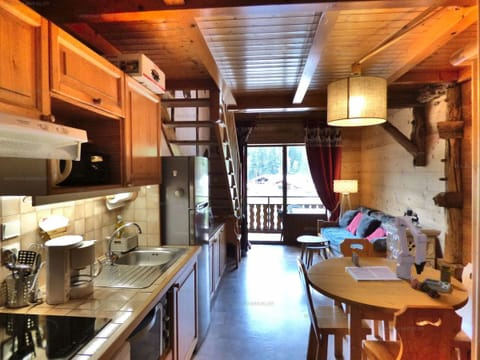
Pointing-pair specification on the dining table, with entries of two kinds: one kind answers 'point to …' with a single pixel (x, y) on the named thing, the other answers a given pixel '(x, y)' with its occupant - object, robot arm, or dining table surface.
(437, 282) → the button control panel
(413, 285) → the orange short cylinder
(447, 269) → the yellow metal cylinder
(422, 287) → the bolt
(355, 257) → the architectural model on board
